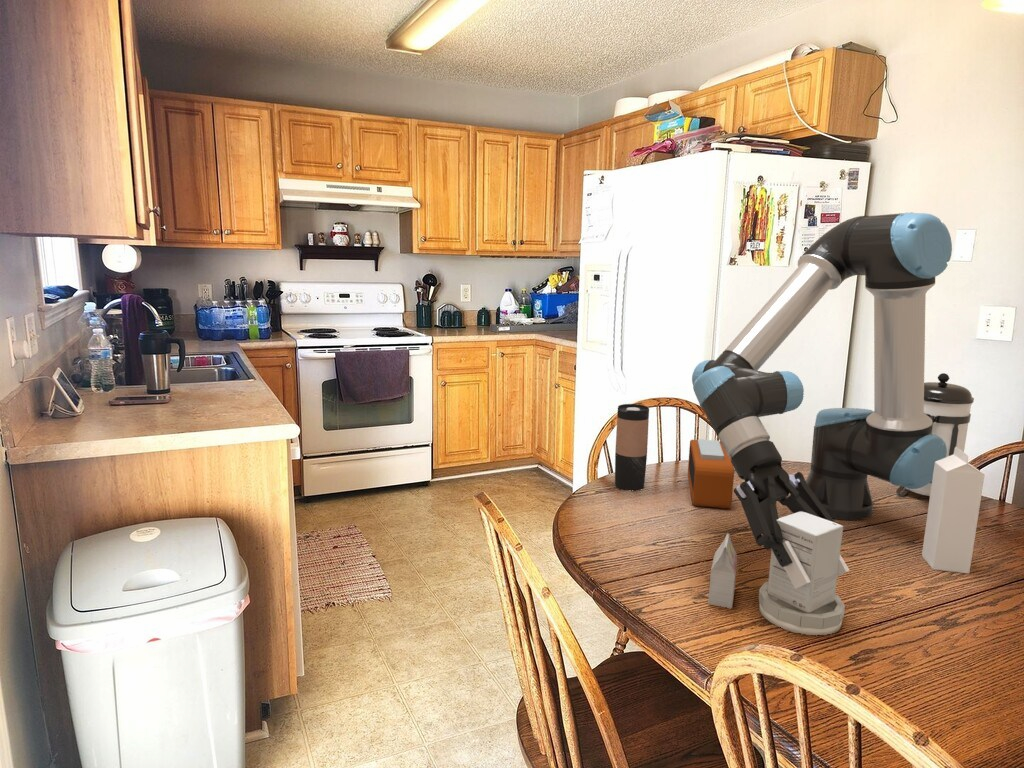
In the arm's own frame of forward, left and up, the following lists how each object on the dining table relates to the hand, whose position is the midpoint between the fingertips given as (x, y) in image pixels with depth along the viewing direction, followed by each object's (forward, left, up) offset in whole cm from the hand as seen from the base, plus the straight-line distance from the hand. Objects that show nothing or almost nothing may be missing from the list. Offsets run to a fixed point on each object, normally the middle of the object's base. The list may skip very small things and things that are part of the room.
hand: (822, 579), depth 100 cm
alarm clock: (+8, -59, -8) cm, 60 cm away
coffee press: (-44, -65, -8) cm, 79 cm away
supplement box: (+2, -3, -5) cm, 6 cm away
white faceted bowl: (+2, -3, -8) cm, 8 cm away
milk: (-30, -26, -8) cm, 41 cm away
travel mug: (+27, -59, -8) cm, 66 cm away
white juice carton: (+13, -7, -8) cm, 17 cm away
